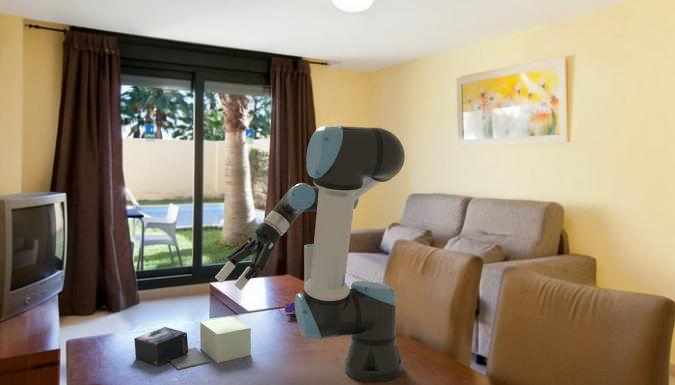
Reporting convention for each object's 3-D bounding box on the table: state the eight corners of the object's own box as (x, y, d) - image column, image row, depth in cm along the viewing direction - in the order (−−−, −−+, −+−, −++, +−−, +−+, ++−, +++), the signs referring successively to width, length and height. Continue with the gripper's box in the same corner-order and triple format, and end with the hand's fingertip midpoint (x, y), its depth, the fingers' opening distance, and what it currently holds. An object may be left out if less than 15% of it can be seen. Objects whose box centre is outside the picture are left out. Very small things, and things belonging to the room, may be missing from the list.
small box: (187, 331, 140) (155, 344, 131) (189, 352, 141) (158, 367, 132) (164, 325, 146) (132, 337, 137) (166, 346, 147) (135, 359, 138)
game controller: (278, 302, 186) (304, 296, 186) (282, 324, 184) (308, 318, 184) (276, 301, 176) (303, 295, 177) (280, 324, 174) (307, 317, 175)
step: (250, 355, 141) (250, 327, 140) (217, 362, 135) (217, 334, 135) (231, 342, 152) (231, 316, 152) (200, 348, 146) (200, 322, 146)
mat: (210, 362, 135) (210, 360, 135) (177, 369, 130) (177, 368, 130) (195, 348, 146) (194, 347, 146) (164, 355, 141) (164, 353, 141)
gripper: (300, 240, 143) (255, 298, 135) (261, 234, 163) (219, 284, 155) (284, 223, 140) (237, 282, 131) (246, 219, 160) (202, 270, 151)
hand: (227, 283), depth 143 cm, fingers open, 13 cm apart
